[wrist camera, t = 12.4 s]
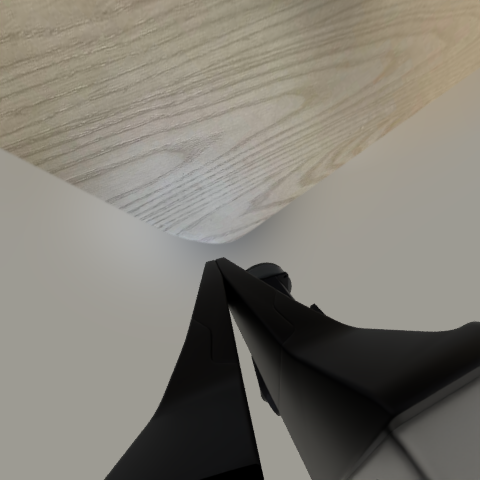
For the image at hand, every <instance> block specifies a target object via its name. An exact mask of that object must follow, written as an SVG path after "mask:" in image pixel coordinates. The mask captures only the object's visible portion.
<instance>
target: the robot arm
mask: <svg viewBox="0 0 480 480" xmlns="http://www.w3.org/2000/svg"><path fill="white" fill-rule="evenodd" d="M229 309H230V311H231V313H232V315H233V317H234V319H235V322H236V324H237V326H238V327H239V330H240V332H241V334H242V336H243V338H244V340H245V342H246V344H247V346H248V348H249V350H250V353H251V355H252V360H253V364H254V368H255V372H256V376H257V379H258V383H259V387H260V392H261V397H262V399H263V400H264V401H266V402H268V403H269V405H270V407H271V408H272V409H273V411H274V412H275V413H276V414H277V415H278V416H281V417H282V419H283V421H284V423H285V425H286V427H287V429H288V431H289V433H290V435H291V438H292V440H293V442H294V444H295V446H296V448H297V450H298V452H299V454H300V456H301V458H302V460H303V462H304V464H305V466H306V469H307V471H308V473H309V475H310V477H311V479H312V480H480V322H470V323H468V324H465V325H463V326H462V327H460V328H457V329H454V330H449V331H441V332H440V331H439V332H423V331H422V332H421V331H404V330H384V329H364V328H356V327H352V326H348V325H345V324H342V323H340V322H338V321H336V320H334V319H332V318H330V317H328V316H326V315H325V314H324V313H323V312H322V311H321V310H320V309H319V308H318V307H317V306H316V305H315V304H313V305H311V306H310V308H309V307H307V306H305V305H303V304H301V303H299V302H297V301H295V299H294V298H293V297H292V296H291V294H290V293H289V292H288V274H287V273H286V272H282V273H279V274H276V275H273V276H270V277H268V278H265V279H262V280H260V279H258V278H257V277H255V276H254V275H252V274H250V273H249V272H247V271H245V270H244V269H242V268H241V267H239V266H237V265H236V264H234V263H232V262H230V261H229V260H227V259H226V258H224V257H223V258H219V259H216V260H212V261H208V262H206V264H205V268H204V272H203V275H202V280H201V283H200V287H199V291H198V295H197V299H196V303H195V307H194V311H193V314H192V319H191V322H190V326H189V330H188V333H187V336H186V340H185V342H184V345H183V348H182V351H181V353H180V356H179V358H178V361H177V363H176V366H175V368H174V371H173V373H172V376H171V379H170V381H169V384H168V386H167V388H166V391H165V393H164V396H163V398H162V400H161V402H160V405H159V407H158V409H157V410H156V412H155V414H154V416H153V417H152V419H151V420H150V422H149V423H148V424H147V426H146V427H145V428H144V430H143V431H142V432H141V433H140V435H139V436H138V437H137V438H136V440H135V441H134V442H133V443H132V445H131V446H130V447H129V448H128V450H127V451H126V453H125V454H124V455H123V456H122V457H121V459H120V460H119V461H118V463H117V464H116V465H115V466H114V468H113V469H112V470H111V472H110V473H109V474H108V475H107V477H106V478H105V479H104V480H264V477H263V472H262V469H261V463H260V458H259V453H258V449H257V444H256V439H255V435H254V430H253V425H252V421H251V416H250V411H249V407H248V402H247V397H246V392H245V388H244V383H243V378H242V373H241V368H240V363H239V358H238V353H237V347H236V342H235V337H234V332H233V327H232V322H231V317H230V312H229Z"/></svg>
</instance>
